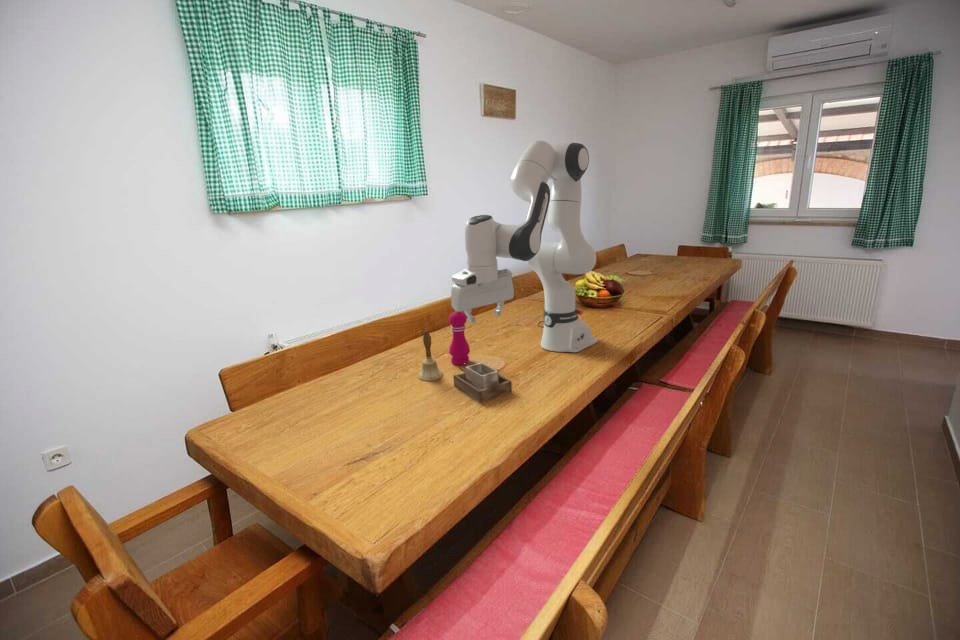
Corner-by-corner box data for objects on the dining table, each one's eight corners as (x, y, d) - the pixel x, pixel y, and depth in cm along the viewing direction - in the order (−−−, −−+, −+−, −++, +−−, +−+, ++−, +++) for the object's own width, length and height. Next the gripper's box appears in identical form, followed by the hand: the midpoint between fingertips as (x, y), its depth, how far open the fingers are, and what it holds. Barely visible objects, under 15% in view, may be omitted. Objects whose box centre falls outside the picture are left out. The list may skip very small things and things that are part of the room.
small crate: (482, 379, 148) (481, 362, 146) (498, 389, 141) (498, 371, 139) (466, 384, 145) (465, 366, 143) (482, 395, 138) (481, 376, 136)
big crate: (484, 376, 152) (484, 366, 151) (511, 391, 140) (511, 381, 139) (454, 385, 146) (453, 375, 145) (479, 403, 134) (479, 391, 133)
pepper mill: (467, 366, 161) (465, 310, 155) (447, 365, 162) (444, 310, 156) (472, 358, 167) (469, 305, 161) (452, 357, 169) (449, 304, 163)
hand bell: (439, 381, 150) (435, 334, 145) (414, 380, 151) (410, 334, 146) (445, 371, 157) (442, 326, 153) (422, 370, 159) (418, 326, 154)
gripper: (504, 266, 142) (506, 309, 146) (446, 277, 131) (450, 323, 136) (517, 269, 137) (519, 313, 141) (458, 281, 126) (461, 329, 131)
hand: (484, 319), depth 138 cm, fingers open, 8 cm apart
